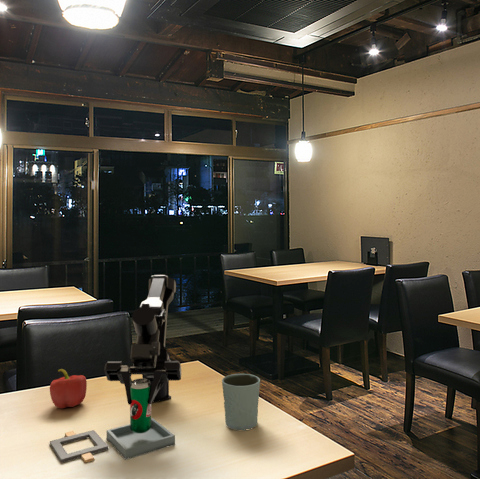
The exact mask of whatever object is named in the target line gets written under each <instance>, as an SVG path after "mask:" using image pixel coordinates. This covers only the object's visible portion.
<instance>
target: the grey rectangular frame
mask: <svg viewBox="0 0 480 479" xmlns="http://www.w3.org/2000/svg"><path fill="white" fill-rule="evenodd" d="M64 436H65V437H61V438H57V439H53V440H49V445H50V447H51V449H52V450H53V452H54V454H55V455H56V456H57V458H58V460H59V461H60V463H61V464H62V463H65V462H70V461H72V460H76V459H82V460H83V462H84V464H86V463H89V462H93V461H95V457H94V454H98V453H101V452H104V451H107V450H109V445H108V444H107V443H106V442H105V440H103V438H102V437H101V436H100V435H99V434H98V433H97V432H96V431H95V429H91V430H89V431H85V432H81V433H75V431H74V430H71V431H67V432H64ZM85 439H90V441H91V442H92V443H93V444H94V446H91V447H87V448H83V449H80V450H76V451H72V452H69V453H68V452H67V451H66V449H65V447H63V445H66V444H70V443H73V442H78V441H81V440H85Z"/></svg>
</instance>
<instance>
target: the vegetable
mask: <svg viewBox="0 0 480 479" xmlns="http://www.w3.org/2000/svg"><path fill="white" fill-rule="evenodd" d="M57 372H58V373H62V374H63V376H62V377H59V378H57V379H53V380H52V381H51V383H50V385H49V395H50V398H51V401H52V402H51V403H53V405H54V406H55V407H56V408H58V409H65V408H72V407H73V408H74V407H76V406H78V405H80V404H81V403H83V401H84V400H85V399H86V398H85V397H86V395H87V386H88V381H87V378H86V376H84V375H81V374H80V375H77V374H75V375H73V374H72V375H69V374H68V372H67V371H66V370H65V369H63V368H60V369H58V370H57Z"/></svg>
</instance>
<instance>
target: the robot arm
mask: <svg viewBox="0 0 480 479" xmlns="http://www.w3.org/2000/svg"><path fill="white" fill-rule="evenodd" d="M176 291H177V282H176V280H175V279H174V278H171V277H169V276H168V275H166V274H154V275H151V276H150V278H149V279H148V295H147V297H146V299H145V300H143V301H141V303H140V304H139V307H137V308H136V309H134V311H133V313H132V314H131V319H132V323H133V326H134V331H135V333H136V335H137V337H136V343H135V344H133V343H132V344H131V349H130V359H131V360H130V363H131V364H132V366H131V365H126V364H125V365H124V364H123V361H122V360H120V361H119V360H118V361H117V360H116V361H113V360H112V361H111V360H110V361H109V360H107V362H106V363H105V364H104V370H103V371H104V374H105V377H106V379H107V381H110V382H119V383H120V384H121V385H124V388H125V395H126V400H127V405H129V406H130V385H131V384H132V383H131V382H132V381H133V379H132V375H141V376H142V377H141V378H145V379H148V380H149V382H150V384H151V393H150V397H149V404H151V405H152V404H153V403H158V402H162V401H167V400H170V399H172V396H171V395H170V381H180V380H182V365H181V362H180V361H179V360H171V359H170V356H169V352H168V351H167V349H166V341H167V340H166V339H167V338H166V336H167V324H168V314H169V313H168V309H169V305H170V304H171V302H172V301H173V300H174V296H175V293H176Z"/></svg>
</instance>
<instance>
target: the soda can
mask: <svg viewBox="0 0 480 479" xmlns="http://www.w3.org/2000/svg"><path fill="white" fill-rule="evenodd" d="M131 383H132V384H131V385H130V405H129V418H130V419H129V422H130V423H129V424H130V429H131V431H132V432H134V433H145V432H147V431H149V430H150V428H151V418H152V403H151V404H149V397H150V393H151V384H150V382H149V380H148V379H145V378H142V377H141V378H135V379H132V382H131Z"/></svg>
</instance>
